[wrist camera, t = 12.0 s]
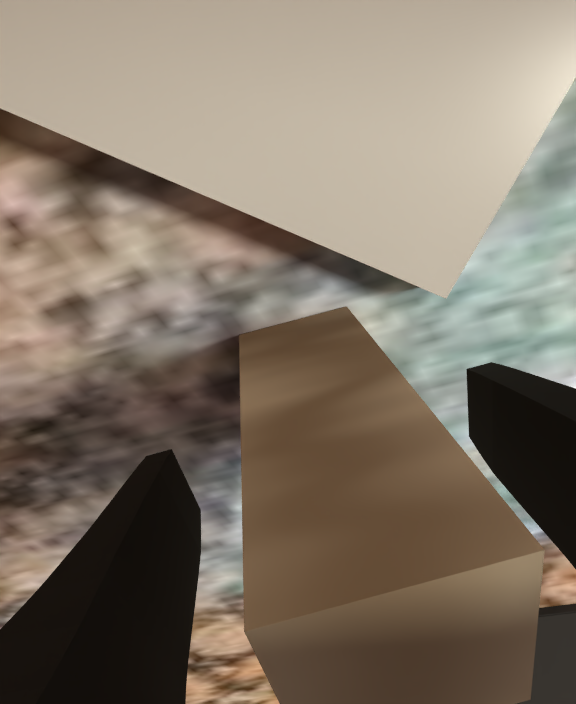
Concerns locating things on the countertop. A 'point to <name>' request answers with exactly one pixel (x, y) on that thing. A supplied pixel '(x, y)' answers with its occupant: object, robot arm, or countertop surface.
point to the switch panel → (308, 108)
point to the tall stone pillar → (373, 533)
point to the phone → (555, 657)
